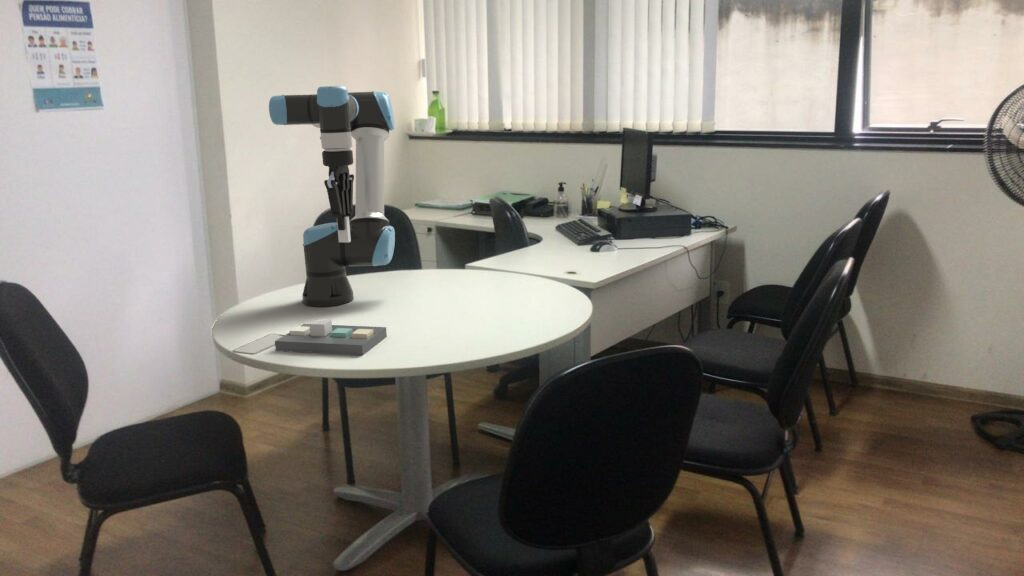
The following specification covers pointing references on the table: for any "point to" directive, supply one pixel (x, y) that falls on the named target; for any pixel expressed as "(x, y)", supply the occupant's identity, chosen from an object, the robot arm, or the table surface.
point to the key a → (300, 331)
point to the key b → (320, 328)
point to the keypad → (331, 342)
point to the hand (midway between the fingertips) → (344, 241)
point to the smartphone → (259, 344)
